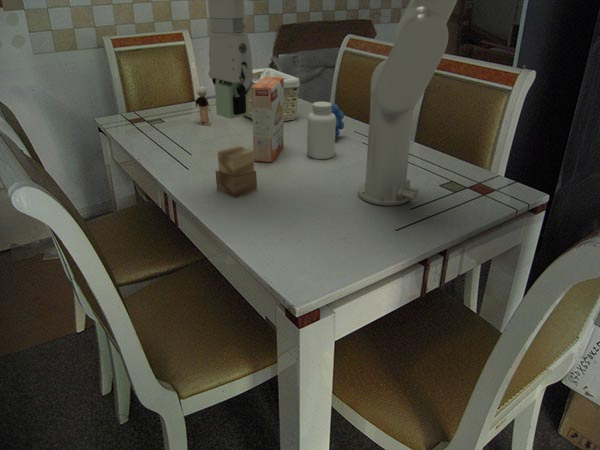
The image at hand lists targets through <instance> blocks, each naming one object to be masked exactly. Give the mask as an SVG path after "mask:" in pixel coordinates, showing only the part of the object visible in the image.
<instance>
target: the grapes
mask: <svg viewBox="0 0 600 450" xmlns="http://www.w3.org/2000/svg"><path fill="white" fill-rule="evenodd" d="M331 104H332V109H331V110H332V111H331V113H333V114H334V115H335V117H336V130H335V138H338V137H339V136H340V130H344V127H345V123H344V121H343V119H344V118H345V114H344V111H342V110H340V109H339V108H340V107H339V105H338V104H336V103H331Z"/></svg>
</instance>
